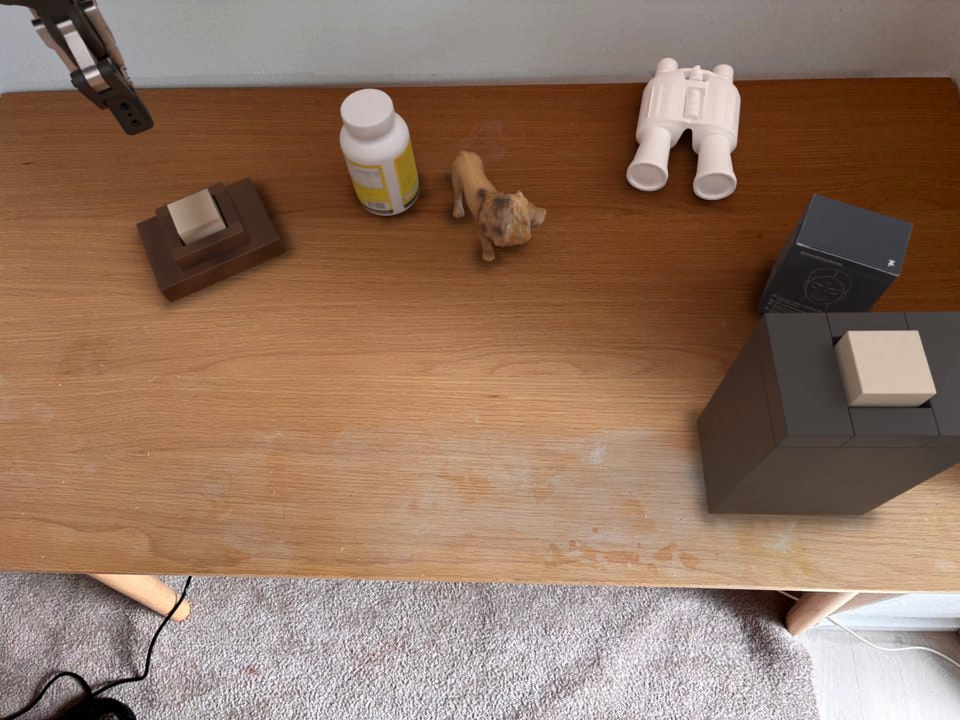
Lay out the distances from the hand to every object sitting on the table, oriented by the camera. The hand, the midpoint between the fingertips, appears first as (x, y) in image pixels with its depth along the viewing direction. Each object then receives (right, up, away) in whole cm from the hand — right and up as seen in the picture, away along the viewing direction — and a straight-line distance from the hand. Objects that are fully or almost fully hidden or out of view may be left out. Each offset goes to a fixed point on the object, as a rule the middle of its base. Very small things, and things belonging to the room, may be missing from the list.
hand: (140, 126), depth 53 cm
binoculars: (+48, +5, +19) cm, 52 cm away
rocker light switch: (0, -6, +16) cm, 17 cm away
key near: (+50, -19, -13) cm, 55 cm away
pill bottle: (+17, -1, +18) cm, 25 cm away
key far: (-1, -5, +13) cm, 14 cm away
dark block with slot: (+51, -27, +3) cm, 57 cm away
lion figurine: (+27, -5, +15) cm, 32 cm away
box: (+56, -13, +10) cm, 58 cm away
